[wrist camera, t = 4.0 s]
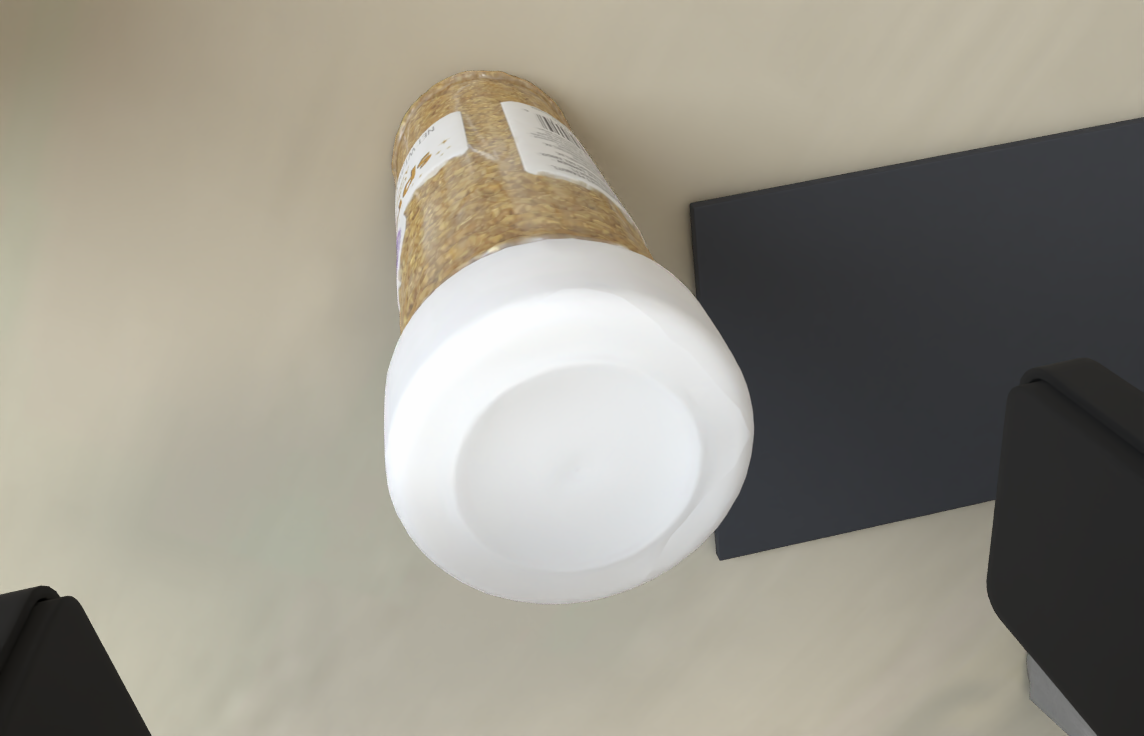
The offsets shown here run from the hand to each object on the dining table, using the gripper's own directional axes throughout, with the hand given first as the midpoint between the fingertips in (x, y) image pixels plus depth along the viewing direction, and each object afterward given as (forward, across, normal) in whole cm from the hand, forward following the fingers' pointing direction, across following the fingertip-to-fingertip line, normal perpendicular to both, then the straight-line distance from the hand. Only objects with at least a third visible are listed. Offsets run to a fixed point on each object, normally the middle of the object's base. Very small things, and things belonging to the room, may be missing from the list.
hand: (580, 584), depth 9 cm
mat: (+15, -14, +8) cm, 22 cm away
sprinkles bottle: (+15, 0, 0) cm, 15 cm away
